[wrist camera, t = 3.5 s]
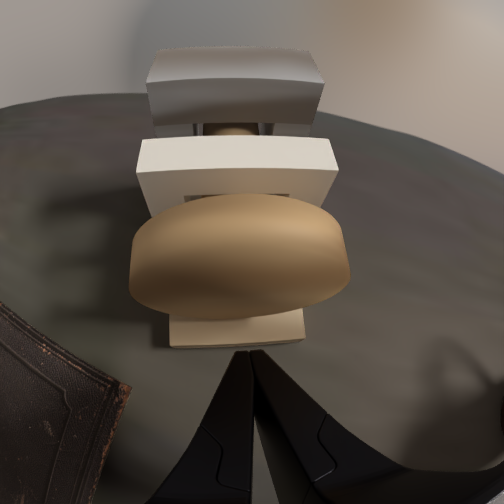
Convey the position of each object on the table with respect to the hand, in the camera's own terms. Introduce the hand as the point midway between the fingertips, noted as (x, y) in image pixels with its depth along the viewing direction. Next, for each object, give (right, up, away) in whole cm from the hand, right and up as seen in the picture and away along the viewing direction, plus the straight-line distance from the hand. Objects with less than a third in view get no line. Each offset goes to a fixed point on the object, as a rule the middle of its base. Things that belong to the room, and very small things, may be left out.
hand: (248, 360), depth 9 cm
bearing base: (-1, +4, +10) cm, 11 cm away
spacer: (-1, +4, +8) cm, 9 cm away
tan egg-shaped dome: (-1, +4, +8) cm, 9 cm away
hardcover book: (-17, -11, +2) cm, 21 cm away
